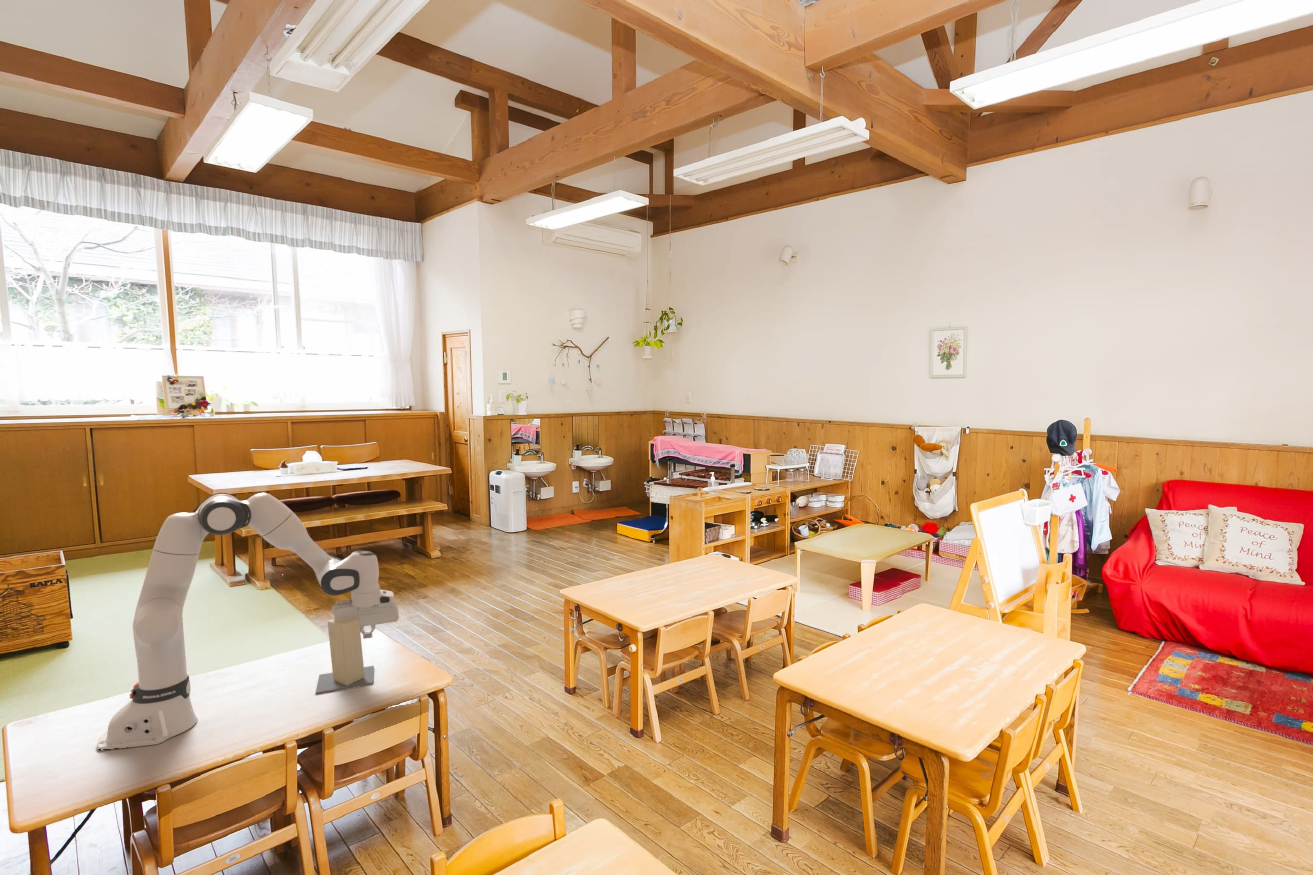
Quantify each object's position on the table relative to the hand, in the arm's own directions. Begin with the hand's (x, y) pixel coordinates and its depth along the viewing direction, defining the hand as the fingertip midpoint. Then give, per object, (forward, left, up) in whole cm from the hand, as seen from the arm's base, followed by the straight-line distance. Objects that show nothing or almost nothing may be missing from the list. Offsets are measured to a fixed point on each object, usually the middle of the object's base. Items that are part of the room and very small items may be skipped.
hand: (367, 637), depth 215 cm
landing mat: (-7, +1, -14) cm, 16 cm away
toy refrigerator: (-6, 0, -13) cm, 15 cm away
